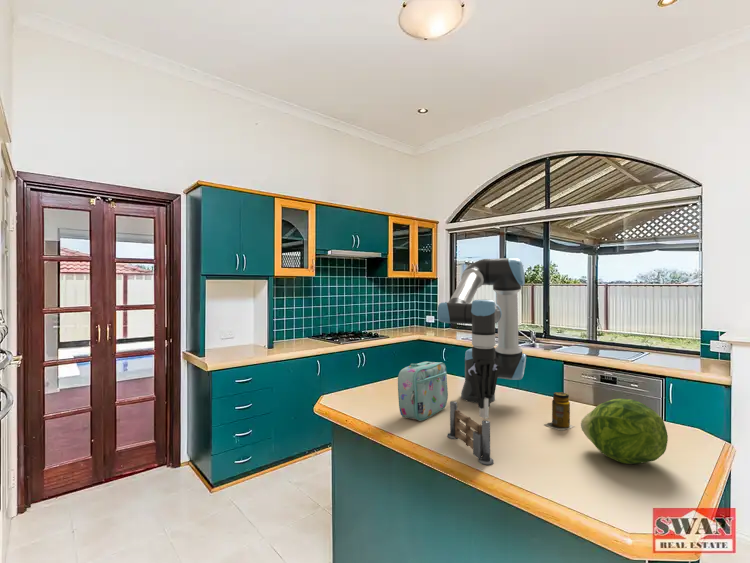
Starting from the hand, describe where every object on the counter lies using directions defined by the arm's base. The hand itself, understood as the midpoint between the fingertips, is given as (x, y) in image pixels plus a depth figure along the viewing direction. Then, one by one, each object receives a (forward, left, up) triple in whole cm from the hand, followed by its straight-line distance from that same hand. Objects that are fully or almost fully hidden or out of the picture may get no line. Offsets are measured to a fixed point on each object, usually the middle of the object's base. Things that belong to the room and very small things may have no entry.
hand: (483, 417), depth 131 cm
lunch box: (+7, -33, -9) cm, 35 cm away
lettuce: (-33, +22, -9) cm, 41 cm away
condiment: (-36, -6, -9) cm, 38 cm away
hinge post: (+7, -8, -9) cm, 14 cm away
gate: (+7, +2, -8) cm, 11 cm away
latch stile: (+7, +12, -9) cm, 16 cm away
